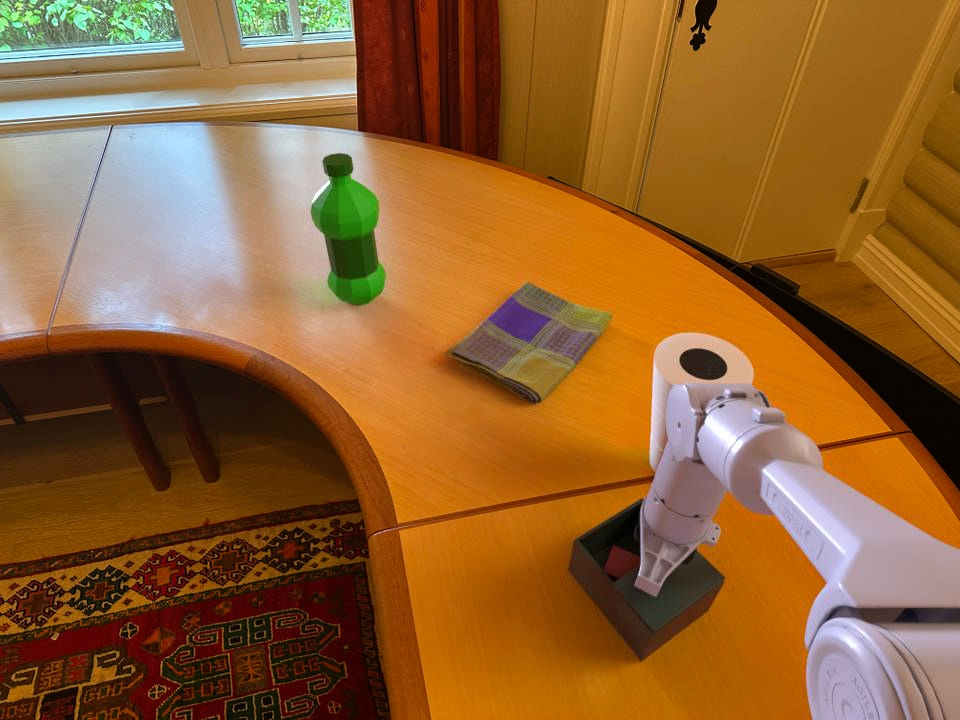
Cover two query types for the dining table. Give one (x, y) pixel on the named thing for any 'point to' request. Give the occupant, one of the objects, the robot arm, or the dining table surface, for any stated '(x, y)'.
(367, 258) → the plastic bottle
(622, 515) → the carton
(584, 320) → the dish towel
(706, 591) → the carton flap
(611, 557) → the red rectangular block
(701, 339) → the white paper towel roll
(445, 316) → the dining table surface
